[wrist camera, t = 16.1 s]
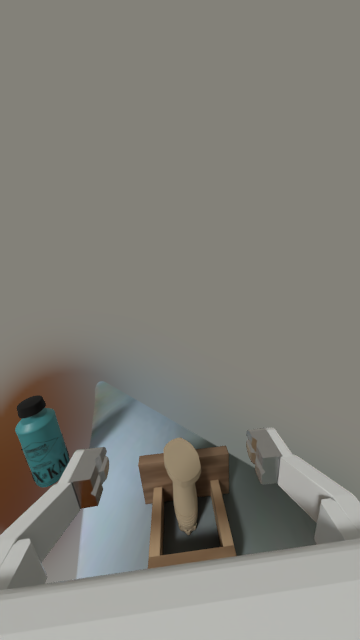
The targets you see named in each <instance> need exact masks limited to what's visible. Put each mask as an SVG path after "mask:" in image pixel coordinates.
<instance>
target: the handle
mask: <svg viewBox="0 0 360 640" xmlns="http://www.w3.org/2000/svg"><path fill="white" fill-rule="evenodd" d="M164 464H165V468H166V471H167V473H168V475H169V477H170V478H171V480H172V481H173V500H174V508H175V513H176V517H177V520H178V525H179V528H180V530H181V531H184V532H185V533H186V534H187V535H190V534H191V532H192V531H193V530H195V529H196V526H197V523H196V521H197V515H198V501H197V493H196V487H195V482H196V481H197V480H198V479H199V477H200V474H201V465H200V460H199V456H198V453H197V451H196V450H195V449H194V447H193V446H192V445H191V443H189V442H188V441H186V440H184V439H182V438H176V439H173V440H171V441H170V442H169V443H168V444H166V446H165V447H164Z"/></svg>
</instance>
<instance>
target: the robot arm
mask: <svg viewBox="0 0 360 640" xmlns="http://www.w3.org/2000/svg"><path fill="white" fill-rule="evenodd" d="M247 437H248V440H247V442H246V447H247V452H248V455H249V458H250V460H251V462H252V463H253V464H255V472H256V474H257V476H258V478H259V480H260V483H261V485H265V484H276V483H278V485H279V486H280V487H281V488H282V489H283V490H284V491H285V492H286V493H287V494H288V495H289V496H290V497H291V498H292V499H293V500H294V501H295V502H296V503H297V504H298V505H299V506H300V507H301V508H302V509H303V510H304V511H305V512H306V513H307V514H308V515H309V516H310V517H311V518H312V519H313V520H314V521H315V522H316V523H317V525H316V531H315V536H314V540H315V542H316V544H317V545H310V546H303V547H296V548H289V549H282V550H275V551H268V552H262V553H255V554H248V555H241V556H234V557H227V558H220V559H213V560H206V561H199V562H192V563H185V564H178V565H171V566H164V567H157V568H150V569H143V570H136V571H129V572H122V573H115V574H108V575H101V576H94V577H87V578H81V579H74V580H67V581H60V582H53V583H47V584H45V582H46V579H47V574H46V571H45V569H44V567H43V565H42V561H43V560H44V559H45V557H46V556H47V555H48V553H49V552H50V551H51V549H52V548H53V547H54V545H55V544H56V542H57V541H58V540H59V538H60V537H61V536H62V534H63V533H64V532H65V530H66V529H67V527H68V526H69V525H70V523H71V522H72V520H73V519H74V518H75V517H76V515H77V514H78V513H79V511H80V509H82V508H88V507H94V506H98V504H99V501H100V498H101V494H102V491H103V487H102V484H103V482H104V481H105V480H106V478H107V475H108V470H109V460H108V457H106V456H105V455H106V452H107V451H106V448H105V447H101V448H90V449H80V450H76V451H75V452H74V454H73V456H72V458H71V459H70V461H69V463H68V465H67V467H66V469H65V470H64V472H63V474H62V476H61V478H60V480H59V482H58V484H55V485H53V486H52V487H51V488H50V489H49V490H48V491H47V492H46V493H45V494H44V495H43V496H42V497H41V498H39V499H38V500H37V501H36V502H35V503H34V504H33V505H32V506H31V507H30V508H29V509H28V510H27V511H26V512H25V513H24V514H22V515H21V516H20V517H19V518H18V519H17V520H16V521H15V522H14V523H13V524H12V525H11V526H10V527H9V528H8V529H6V530H5V531H4V532H3V533H2V534H1V535H0V640H360V502H359V501H358V499H357V498H356V497H355V496H354V494H352V493H351V492H349V491H348V490H346V489H345V488H344V487H342V486H341V485H339V484H338V483H336V482H335V481H333V480H332V479H330V478H329V477H327V476H326V475H325V474H323V473H322V472H320V471H319V470H317V469H316V468H314V467H313V466H311V465H310V464H309V463H307V462H306V461H304V460H303V459H301V458H300V457H298V456H297V455H293V454H292V453H291V451H290V450H289V448H288V447H287V445H286V444H285V442H284V441H283V440H282V438H281V437H280V435H279V434H278V432H277V431H276V430H275V428H273V427H270V428H260V429H253V430H247Z"/></svg>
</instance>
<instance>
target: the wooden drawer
mask: <svg viewBox="0 0 360 640" xmlns="http://www.w3.org/2000/svg"><path fill="white" fill-rule="evenodd" d="M195 450H196V451H197V453H198V456H199V460H200V465H201V474H200V477H199V479H198V480H197V481H196V482H195V487H196V493H197V497H204V496H211V498H212V504H213V509H214V514H215V520H216V525H217V530H218V536H219V541H220V546H221V547H217V548H210V549H203V550H196V551H189V552H182V553H175V554H168V555H163V533H164V502H166V501H174V500H173V481H172V480H171V478H170V477H169V475H168V473H167V471H166V468H165V464H164V453H162V454H153V455H145V456H140V458H139V464H138V466H139V471H140V476H141V482H142V487H143V492H144V497H145V503H146V504H151V503H153V506H152V520H151V534H150V547H149V561H148V569H150V568H157V567H164V566H171V565H178V564H185V563H192V562H199V561H206V560H213V559H220V558H227V557H234V556H236V552H235V548H234V544H233V539H232V535H231V531H230V527H229V523H228V518H227V514H226V510H225V506H224V502H223V497H222V494H227V493H229V453H228V450H227V447H226V446H220V447H212V448H203V449H195Z"/></svg>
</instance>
